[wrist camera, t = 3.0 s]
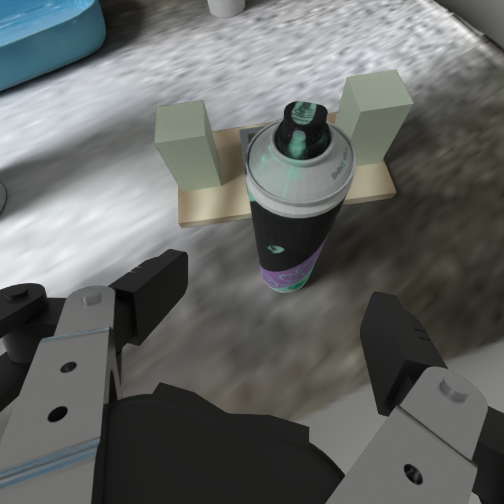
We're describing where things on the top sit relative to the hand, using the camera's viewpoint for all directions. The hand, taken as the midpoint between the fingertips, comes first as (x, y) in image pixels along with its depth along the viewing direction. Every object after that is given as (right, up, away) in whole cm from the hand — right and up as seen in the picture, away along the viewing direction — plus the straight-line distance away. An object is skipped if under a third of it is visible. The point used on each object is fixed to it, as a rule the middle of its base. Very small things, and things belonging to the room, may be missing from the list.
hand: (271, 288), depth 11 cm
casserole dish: (-43, +40, +38) cm, 70 cm away
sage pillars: (+2, +13, +22) cm, 25 cm away
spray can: (+3, 0, +18) cm, 18 cm away
